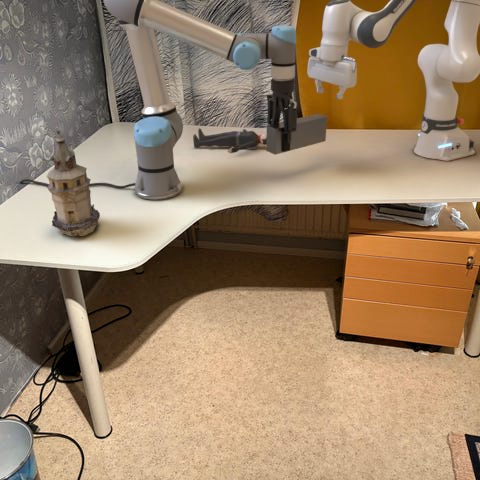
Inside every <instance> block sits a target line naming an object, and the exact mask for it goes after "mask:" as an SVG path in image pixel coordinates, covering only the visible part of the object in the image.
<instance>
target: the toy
mask: <svg viewBox="0 0 480 480" xmlns="http://www.w3.org/2000/svg"><path fill="white" fill-rule="evenodd" d="M202 130H203V129H201V128H198V130H197V134H198V136H197V134H193V136H192V141H193V147H194V148H195V149H198V148H201V147H210V148H211V147H228V148H229V149H227V153H229V154H230V155H231V154H234V153H238V152H239V151H242V150H245V149H248V150H254V149H257V148H258V146H259V144H260V145H264V146H266V139H267V134H259V135H258V134H257V133H256V132H255V131H254V130H247V129H245V128H241V129H240V131H239V130H238V131H237V130H234V131H225V132H220V133H215V134H208V135H205V133H204V132H203V131H202Z"/></svg>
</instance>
